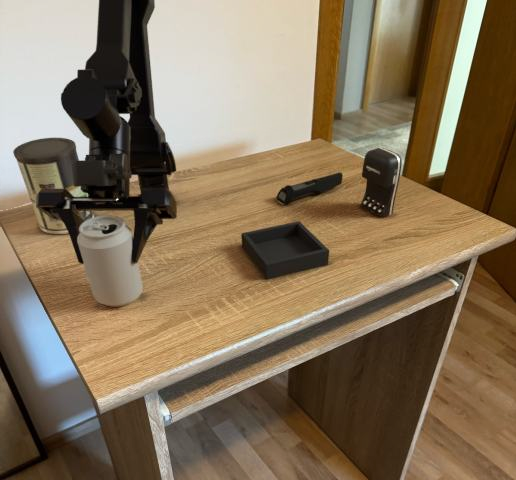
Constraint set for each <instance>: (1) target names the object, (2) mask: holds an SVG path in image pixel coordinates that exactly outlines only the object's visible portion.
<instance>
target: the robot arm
mask: <svg viewBox="0 0 516 480" xmlns="http://www.w3.org/2000/svg"><path fill="white" fill-rule="evenodd" d="M155 9H156V5H155V0H98V11H97V28H96V45H95V51H94V52H93V53H92V54H91V55H90V56H89V58H87V60H86V61H85V65H84V68H83V69H77V73H76V74H77V75H76V76H77V77H75V78H73V79H72V80H70V81H69V82H68V83H66V85H65V87H64V88H63V90H62V92H61V94H60V103H61V106H62V108H63V110H64V112H65V113H66V114H67V115H68V117H69V119H70V120H71V121H72V122H73V123H74V125H75V126H76V127H77V129H78V130H79V131H80V132H81V134H82V135H83V136H84V137H86V139H88V154H85V157H84V160H79V161H71V166H72V175H73V184H74V187H77V186H81V191H82V192H83V193H88V197H74V196H73V195H72V194H71V193H70V192H68V191H67V190H66V189H41V190H40V191H39V193H38V194H37V196H36V207H37V208H38V209H39V210H41V211H42V212H44V213H45V214H46V215H48V216H49V217H50V218H52V219H56V220H61V221H62V222H63V223H64V224H65V226H66V228H67V230H68V233H67V234H68V235H69V237H70V241H71V244H72V247H73V250H74V252H75V256H76V259H77V262H78V263H79V264H81V265H84V262H83V259H82V256H81V252H80V249H79V245H78V242H77V237H78V235H79V234H80V232H79V227H80V226H81V224H82V223H83V222H85V221H84V220H83V219H82V218H81V217H80V211H92V212H98V211H99V212H102V211H103V212H104V211H105V212H106V211H107V212H109V211H110V212H112V211H113V212H115V211H116V212H117V211H119V212H121V211H133V219H134V227H133V235H132V236H133V246H132V261H133V263H134V264H136V263H137V262H138V263H139V260H140V258H141V255H142V253H143V251H144V249H145V247H146V245H147V243H148V241H149V238H150V237H151V235H152V234H153V232H154V230H155V228H156V227H157V226H158V225H163V224H164V220H176V219H178V218H177V217H178V214H177V213H178V211H177V210H178V208H177V207H178V206H177V201H176V199H175V198H174V196H173V194H172V192H171V191H170V187H169V179H168V176H172V174H173V173H175V172H177V164H176V159H175V156H174V153H173V150H172V149H171V147H170V146H171V145H170V144H169V142H168V141H167V139H166V138H167V137H166V132H165V131H164V129H163V127H162V126H161V124H160V123H159V121H158V119H157V118H156V114H155V112H156V111H155V101H154V90H153V79H152V66H151V56H150V55H151V54H150V44H149V33H148V32H149V31H148V24H149V23H150V20H151V18H152V15H153V13H154V10H155ZM121 115H129V119H128V121H127V119H125V118H124V117H122V116H121ZM133 176H137V181H138V186H139V191H140V194H137V195H135V196H131V195H130V191H131V189H130V187H131V186H130V185H131V179H132V177H133Z"/></svg>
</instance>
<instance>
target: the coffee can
mask: <svg viewBox="0 0 516 480" xmlns="http://www.w3.org/2000/svg"><path fill="white" fill-rule="evenodd" d="M12 151H13V156H14V158H15V159H16V162H17V165H18V168H19V171H20V174H21V176H22V179H23V182H24V186H25V188H26V191H27V194H28V197H29V199H30V202H31V205H32V208H33V211H34V213H35V217H36V220H37V223H38V226H39V229H40V230H41V231H42V232H43V233H46V234H50V235H68V234H69V233H68V230H67V228H66V226H65V224H64V223H63V222H62V221H61V220H56V219H52V218H50V217H49V216H48V215H46V214H45V213H44V212H42V211H41V210H39V209H38V208H37V207H36V196H37V194H38V193H39V191H40V190H41V189H66V190H67V191H68V192H70V193H71V194H72V195H73V196H74V197H88V193H83V192H82V191H81V186H77V187H74V184H73V175H72V166H71V161H80V159H79V154H78V151H77V145H76V142H75V141H74V140H73V139H69V138H65V137H44V138H38V139H33V140H29V141H26V142H24V143H21V144H20V145H18V146H16V147H15V148H14V149H13V150H12ZM80 217H81V218H82V219H83V220H84V221H86V220H88V219H91V218H93V217H95V215H94V211H80Z"/></svg>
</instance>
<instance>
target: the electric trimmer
mask: <svg viewBox="0 0 516 480" xmlns="http://www.w3.org/2000/svg"><path fill="white" fill-rule="evenodd" d="M342 183H343V173H342V172H336V173H333V174H329V175H325V176H321V177H318V178H313V179H311V180H307V181H303V182H300V183H296V184H293V185H289V184H287V185H285V186H284V187H282V188H280V190H279V191H278V193H277V195H276V202H278V203H279V204H281V205H283V206H284V205H286V206H288V205H290V204H291V202H292V201H295V200H298V199H301V198H304V197H307V196H310V195H313V194H317V195H319V194H322V193H325V192H327V191H329V190H332V189H333V188H336V187H338V186H340V185H341V184H342Z"/></svg>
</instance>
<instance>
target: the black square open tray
mask: <svg viewBox="0 0 516 480" xmlns="http://www.w3.org/2000/svg"><path fill="white" fill-rule="evenodd" d="M240 235H241V248H242V249H243V250H244V252H245V253H246V255H247V256H248V257H249V258H250V260H251V261H252V262H253V264H254V265H255V266H256V267H257V269H258V270H259V271H260V273H261V274H262V276H263V277H264V278H265V279H266V280H270V279H274V278H278V277H282V276H286V275H290V274H294V273H299V272H302V271H307V270H311V269H315V268H319V267H324V266H328V265H329V260H330V259H329V257H330V250H329V249H328V247H326V246H325V244H324V243H322V241H320V240H319V239H318V238H317V236H315V235H314V234H313V233H312V232H311V230H309V229H308V228H307V227H306V226H305V225H304V224H303V223H302V222H301V221H300V220H298V221H293V222H289V223H284V224H279V225H274V226H271V227H270V226H269V227H265V228H259V229H256V230H250V231H246V232H241V234H240Z"/></svg>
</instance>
